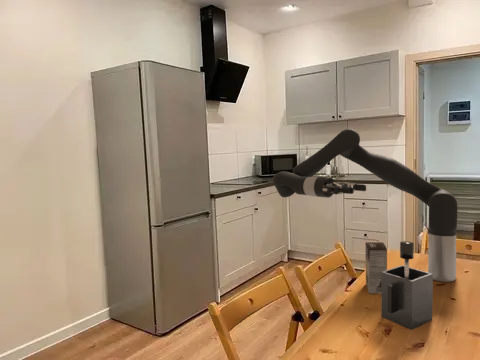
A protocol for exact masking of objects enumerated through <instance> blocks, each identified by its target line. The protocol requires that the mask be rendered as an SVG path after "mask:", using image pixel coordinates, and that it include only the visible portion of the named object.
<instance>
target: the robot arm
mask: <svg viewBox="0 0 480 360" xmlns="http://www.w3.org/2000/svg"><path fill="white" fill-rule="evenodd" d="M360 136H361V135H360V134H359V132H357V130H355V129H352V128H346V129H343V130H341V131H340V132H339V133H338V134H337V135H335V137H333V139H331V140H330V141H329V142H328V143H327V144H325V146H323V147H322V148H321V149H319V150H318V151H316V152H314V154H312V155H311V156H309V157H308V158H307V159H305V160H303V161H302V162H300V163H299V164H297V165H296V166H295V167H293V169H292V172H289V171H279V172H277V173H275V174H274V175H273V177H272V183H273V185H274V187H275V189H276V192H277V193H278V194H279V196H280V197H282V198H289V197H291V196H293V195H294V194H297V195H301V196H311V197H317V198H326V199H327V198H331V197H332V196H333V195H342V194H348V195H349V194H351V195H353V194H354V193H355V192H356V191H359V192H366V191H367V185H366V184H363V183H361V184H360V183H359V184H358V183H357V182H349V181H348V182H347V181H346V182H345V181H343V182H341V181H336V182H335V181H334V179H333V178H332V177H330V176H317V175H316V174H318V173H319V172H320V171H322V169H324V167H326V166H327V165H328V164H329V163H330V162H331V161H333V160H334V159H335V158H336V157H338V156H339V155H340V156H341V157H343V158H345V159H347V160H349V161H351V162H353V163H355V164H356V165H359V166H361V167H362V168H364V169H365V170H366V171H368V172H370V173H371V174H373V175H374V176H376V177H378V178H379V179H381V180H382V181H384V182H385V183H387V184H388V185H390V186H392V187H394V188H396V189H398V190H400V191H403V192H405V193H407V194H410V195H411V196H413V197H415V198H417V199H418V200H420V201H421V202H422V203H424V204H425V205H426V206H428V226H427V227H428V236H427V237H428V240H427V242H428V244H427V245H428V250H427V252H428V253H427V255H428V256H427V258H428V259H427V261H428V262H427V272H428V273H432V274H433V281H438V282H443V283H445V282H446V283H450V282H454V281H456V278H457V227H458V201H457V198H456V197H455V196H454V195H453V194H452V193H451V192H449V191H448V190H446V189H443V188H441V187H439V186H436V185H434V184H432V183H430V182H429V181H427V180H425V179H424V178H422V176H420V175H419V174H417V173H416V172H415V171H413V170H412V169H411V168H410V167H408V166H406V165H405V164H403V163H402V162H400V161H397V160H396V159H394V158H392V157H390V156H387V155H383V154H379V153H375V152H371V151H369V150H368V149H366V148H364V147H363V146H362V145H360V142H361V137H360ZM315 175H316V176H315Z"/></svg>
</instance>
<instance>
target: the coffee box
mask: <svg viewBox="0 0 480 360" xmlns="http://www.w3.org/2000/svg"><path fill="white" fill-rule="evenodd" d="M386 270H388V248H387V247H386V244H385V243H384V241H383V242H378V241H377V242H375V241H374V242H370V241H367V242H365V284H366V288H367V291H368V293H369V294H381V272H383V271H386Z"/></svg>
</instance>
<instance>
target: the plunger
mask: <svg viewBox="0 0 480 360" xmlns="http://www.w3.org/2000/svg"><path fill="white" fill-rule="evenodd" d="M414 245H415V243H414V242H412V241H407V240H404V241H400V242H399V258H400V259H403V260H404V265H403V266H404V278H405V279H408V280H409V267H410V260H414V253H415V252H414V250H415V249H414Z"/></svg>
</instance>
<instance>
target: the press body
mask: <svg viewBox="0 0 480 360" xmlns="http://www.w3.org/2000/svg"><path fill="white" fill-rule="evenodd" d="M433 281H434V280H433V274H432V273H428V271H424V270H420V269H417V268H413V267H410V266H409V280H408V279H405V278H404V265H401V264H400V265H399V266H398V265H397V266H395V267H392V268H389V269H387V270H386V271H383V272H381V295H380V296H381V300H380V301H381V303H380V304H381V306H380V308H381V310H380V311H381V312H380V313H381V314H380V315H381V318H382V319H385V320H388V321H389V322H392V323H395V324H397V325H398V326H401V327H404V328H406V329H409V330H411V331H413V330H415V329H417V328H420V327H421V326H423V325H425V324H428V323H430V322H432V321H433V300H434V299H433V292H434V291H433V290H434V288H433V287H434V286H433V285H434V282H433Z"/></svg>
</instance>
